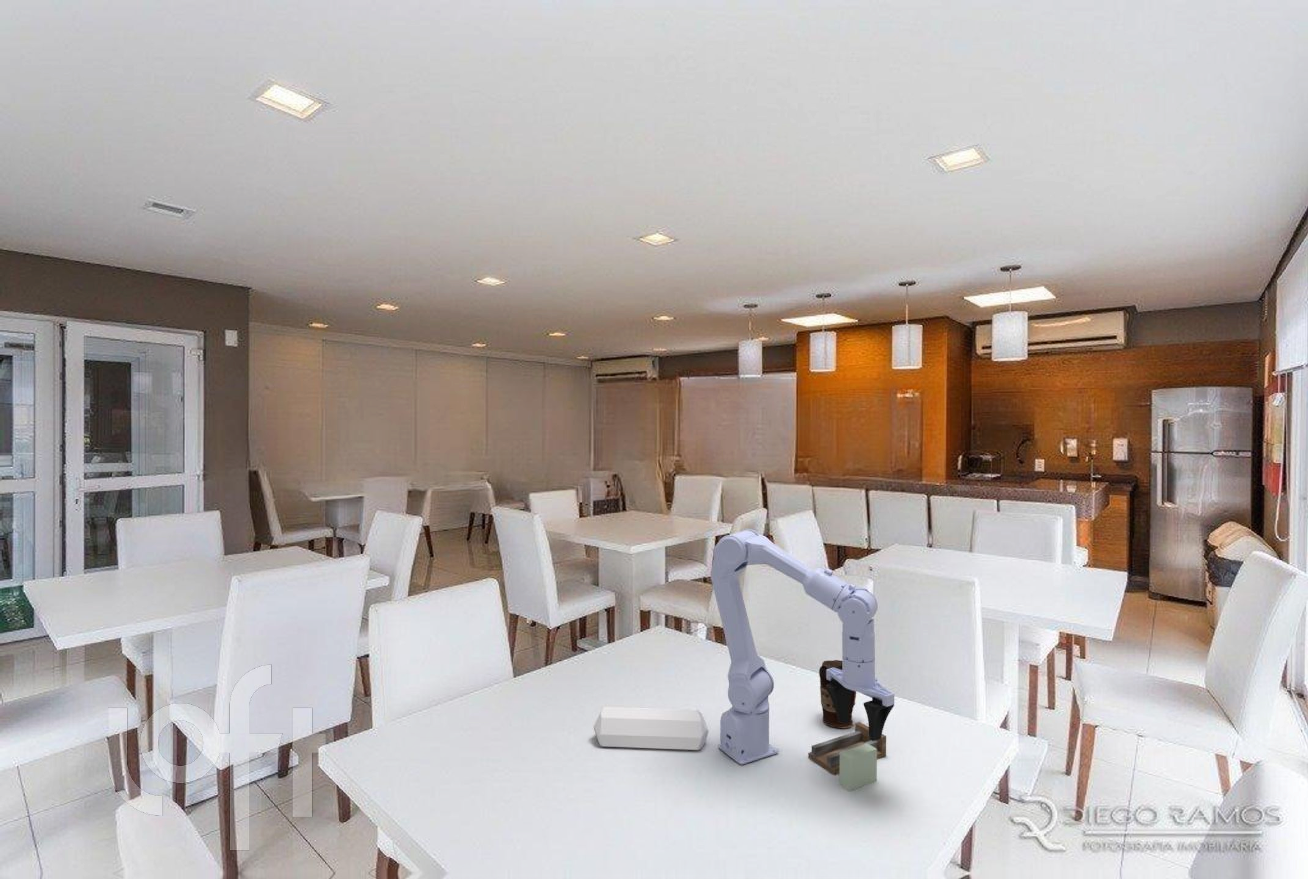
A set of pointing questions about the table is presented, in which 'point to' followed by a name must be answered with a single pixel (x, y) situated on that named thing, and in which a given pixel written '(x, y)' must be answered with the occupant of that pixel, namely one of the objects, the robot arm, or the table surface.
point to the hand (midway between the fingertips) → (859, 730)
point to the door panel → (858, 767)
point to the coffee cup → (826, 700)
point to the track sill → (844, 747)
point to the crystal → (651, 728)
